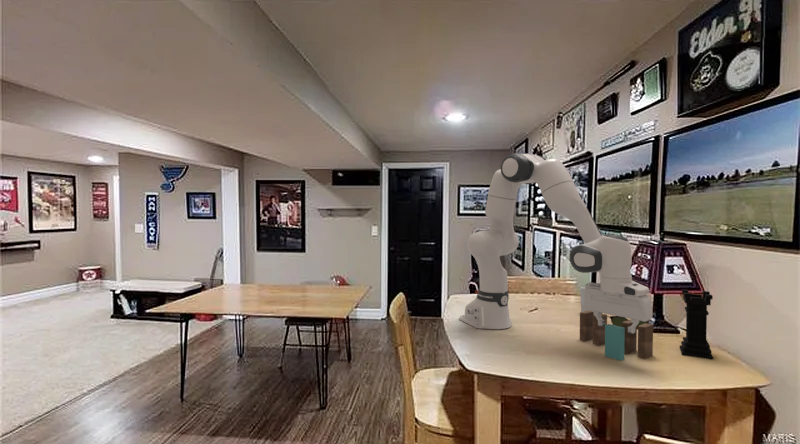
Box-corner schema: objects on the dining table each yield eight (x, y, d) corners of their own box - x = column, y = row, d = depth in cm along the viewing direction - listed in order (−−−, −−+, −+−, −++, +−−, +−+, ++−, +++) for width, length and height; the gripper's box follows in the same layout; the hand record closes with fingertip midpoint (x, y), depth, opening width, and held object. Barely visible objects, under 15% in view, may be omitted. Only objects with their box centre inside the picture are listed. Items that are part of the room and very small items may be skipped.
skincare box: (598, 316, 174) (598, 289, 173) (589, 317, 173) (589, 289, 172) (588, 312, 180) (588, 286, 179) (579, 313, 179) (579, 286, 178)
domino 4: (621, 352, 131) (622, 322, 131) (629, 349, 134) (629, 319, 134) (628, 354, 129) (629, 323, 129) (636, 351, 132) (636, 321, 132)
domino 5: (637, 356, 127) (638, 325, 127) (645, 353, 130) (645, 323, 130) (644, 359, 125) (645, 327, 125) (652, 355, 128) (653, 324, 128)
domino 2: (592, 343, 140) (593, 315, 139) (600, 340, 142) (601, 313, 142) (598, 345, 138) (599, 316, 137) (606, 342, 141) (607, 314, 140)
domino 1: (579, 339, 144) (579, 312, 143) (587, 337, 147) (587, 310, 146) (585, 341, 142) (585, 313, 142) (593, 338, 145) (593, 311, 144)
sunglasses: (609, 328, 159) (609, 315, 159) (603, 321, 173) (603, 309, 173) (650, 331, 154) (650, 318, 154) (641, 323, 168) (640, 311, 168)
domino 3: (620, 360, 124) (620, 329, 124) (604, 355, 128) (605, 325, 128) (624, 359, 125) (624, 327, 125) (608, 354, 130) (608, 323, 129)
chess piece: (709, 351, 131) (710, 291, 130) (713, 359, 124) (714, 296, 124) (679, 347, 135) (680, 289, 134) (681, 355, 128) (682, 293, 128)
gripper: (579, 282, 133) (579, 323, 133) (644, 291, 116) (644, 339, 116) (590, 280, 136) (590, 320, 137) (655, 289, 119) (655, 335, 120)
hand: (616, 329), depth 126 cm, fingers open, 8 cm apart
